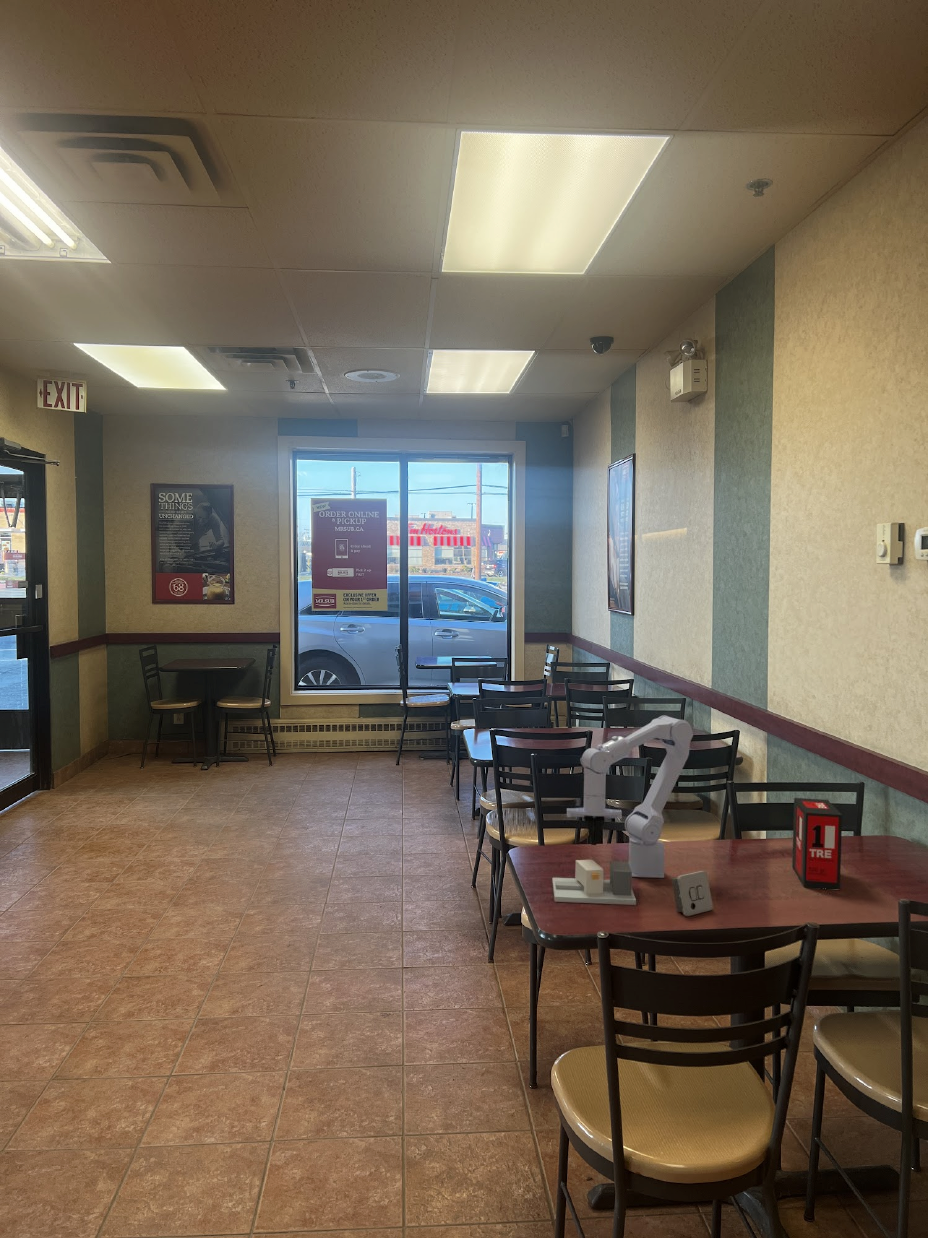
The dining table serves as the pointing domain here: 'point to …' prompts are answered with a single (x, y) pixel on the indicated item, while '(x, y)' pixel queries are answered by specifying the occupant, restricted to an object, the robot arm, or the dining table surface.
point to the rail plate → (613, 889)
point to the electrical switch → (692, 893)
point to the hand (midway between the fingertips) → (593, 844)
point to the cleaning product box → (817, 843)
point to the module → (589, 876)
